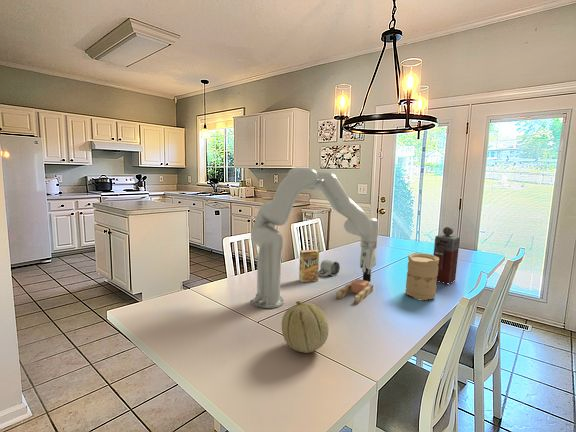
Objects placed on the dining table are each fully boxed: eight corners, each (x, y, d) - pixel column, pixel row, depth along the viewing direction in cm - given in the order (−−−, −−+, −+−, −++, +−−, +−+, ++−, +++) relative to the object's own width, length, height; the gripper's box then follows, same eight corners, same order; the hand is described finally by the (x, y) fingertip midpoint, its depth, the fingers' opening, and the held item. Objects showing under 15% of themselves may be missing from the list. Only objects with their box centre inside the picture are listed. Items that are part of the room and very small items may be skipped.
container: (428, 303, 139) (432, 262, 136) (400, 295, 147) (403, 256, 144) (439, 295, 148) (443, 257, 145) (412, 288, 156) (415, 251, 153)
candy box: (301, 282, 160) (302, 252, 158) (298, 279, 164) (299, 250, 162) (318, 281, 163) (319, 251, 160) (315, 278, 167) (316, 249, 164)
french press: (429, 281, 166) (434, 227, 162) (437, 276, 174) (442, 224, 170) (447, 286, 160) (453, 229, 156) (455, 280, 168) (461, 227, 163)
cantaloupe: (323, 366, 93) (325, 317, 91) (274, 357, 97) (275, 310, 95) (331, 340, 108) (333, 297, 105) (288, 333, 111) (289, 291, 109)
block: (363, 294, 147) (363, 285, 146) (350, 291, 150) (351, 282, 149) (368, 290, 152) (368, 281, 151) (355, 287, 155) (356, 278, 154)
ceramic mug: (328, 270, 179) (328, 257, 178) (339, 274, 173) (340, 260, 172) (314, 274, 173) (315, 260, 171) (326, 279, 166) (326, 264, 165)
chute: (358, 304, 136) (358, 297, 136) (336, 298, 142) (336, 291, 141) (372, 291, 151) (373, 284, 151) (352, 286, 157) (353, 280, 156)
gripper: (370, 248, 146) (368, 287, 149) (381, 242, 158) (379, 278, 161) (354, 246, 150) (353, 284, 153) (366, 240, 162) (364, 275, 165)
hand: (366, 281), depth 157 cm, fingers closed
